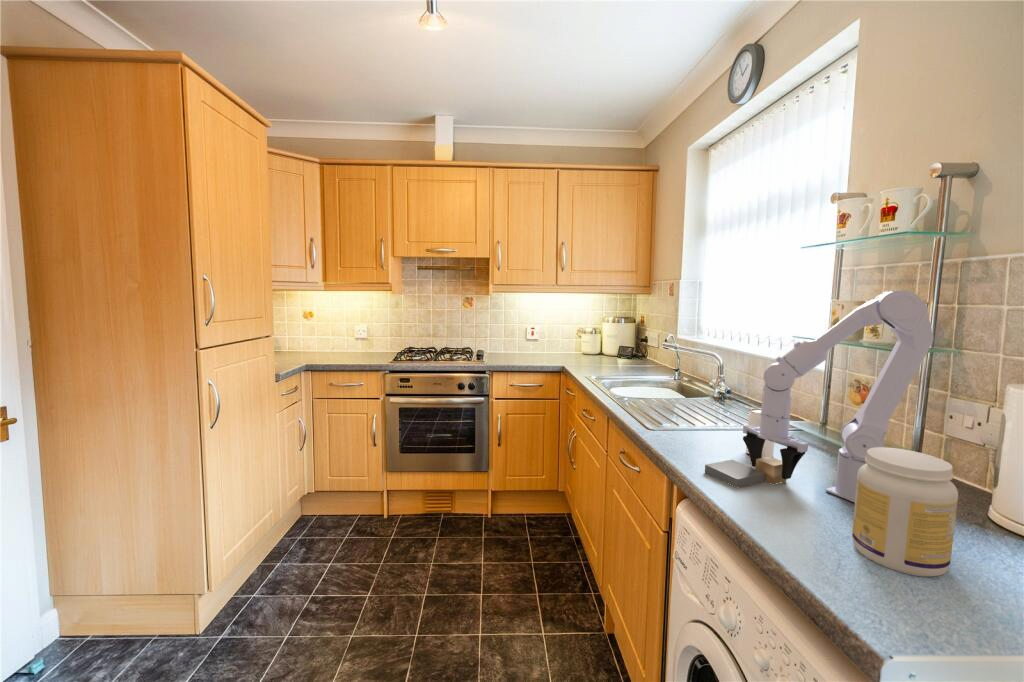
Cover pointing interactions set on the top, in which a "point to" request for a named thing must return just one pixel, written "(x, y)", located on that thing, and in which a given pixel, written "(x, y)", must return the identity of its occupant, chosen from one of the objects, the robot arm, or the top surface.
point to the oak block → (770, 469)
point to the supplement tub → (905, 511)
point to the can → (755, 420)
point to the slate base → (735, 473)
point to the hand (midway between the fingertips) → (770, 471)
